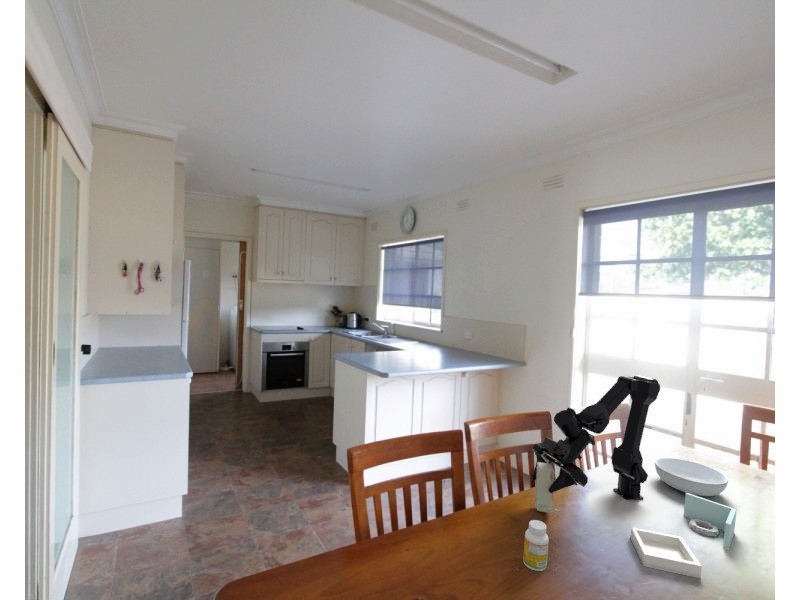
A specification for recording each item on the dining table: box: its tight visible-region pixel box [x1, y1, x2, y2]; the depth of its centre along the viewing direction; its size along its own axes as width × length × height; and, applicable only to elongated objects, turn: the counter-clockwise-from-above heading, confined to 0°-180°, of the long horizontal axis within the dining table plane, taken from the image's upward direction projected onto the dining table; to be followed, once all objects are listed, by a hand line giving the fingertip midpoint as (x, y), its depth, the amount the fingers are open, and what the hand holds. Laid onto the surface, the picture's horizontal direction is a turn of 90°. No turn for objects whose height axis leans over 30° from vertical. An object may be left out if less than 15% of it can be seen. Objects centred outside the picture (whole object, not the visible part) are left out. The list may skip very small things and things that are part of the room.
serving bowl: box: [654, 457, 729, 497], centre depth 144 cm, size 21×21×7 cm
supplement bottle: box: [522, 519, 550, 572], centre depth 99 cm, size 5×5×10 cm
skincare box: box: [534, 461, 556, 514], centre depth 123 cm, size 6×4×12 cm
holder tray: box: [629, 527, 703, 579], centre depth 105 cm, size 12×12×3 cm
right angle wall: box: [683, 493, 738, 551], centre depth 118 cm, size 12×12×8 cm
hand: (540, 485), depth 123 cm, fingers closed on skincare box, 7 cm apart
